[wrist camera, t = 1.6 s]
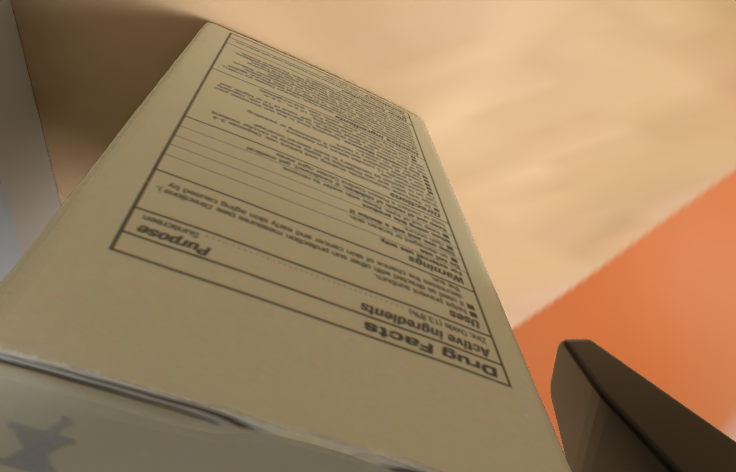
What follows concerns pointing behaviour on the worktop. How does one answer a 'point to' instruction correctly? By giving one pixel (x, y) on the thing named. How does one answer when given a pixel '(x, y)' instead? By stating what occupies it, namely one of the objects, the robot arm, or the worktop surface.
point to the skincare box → (263, 294)
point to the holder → (20, 153)
